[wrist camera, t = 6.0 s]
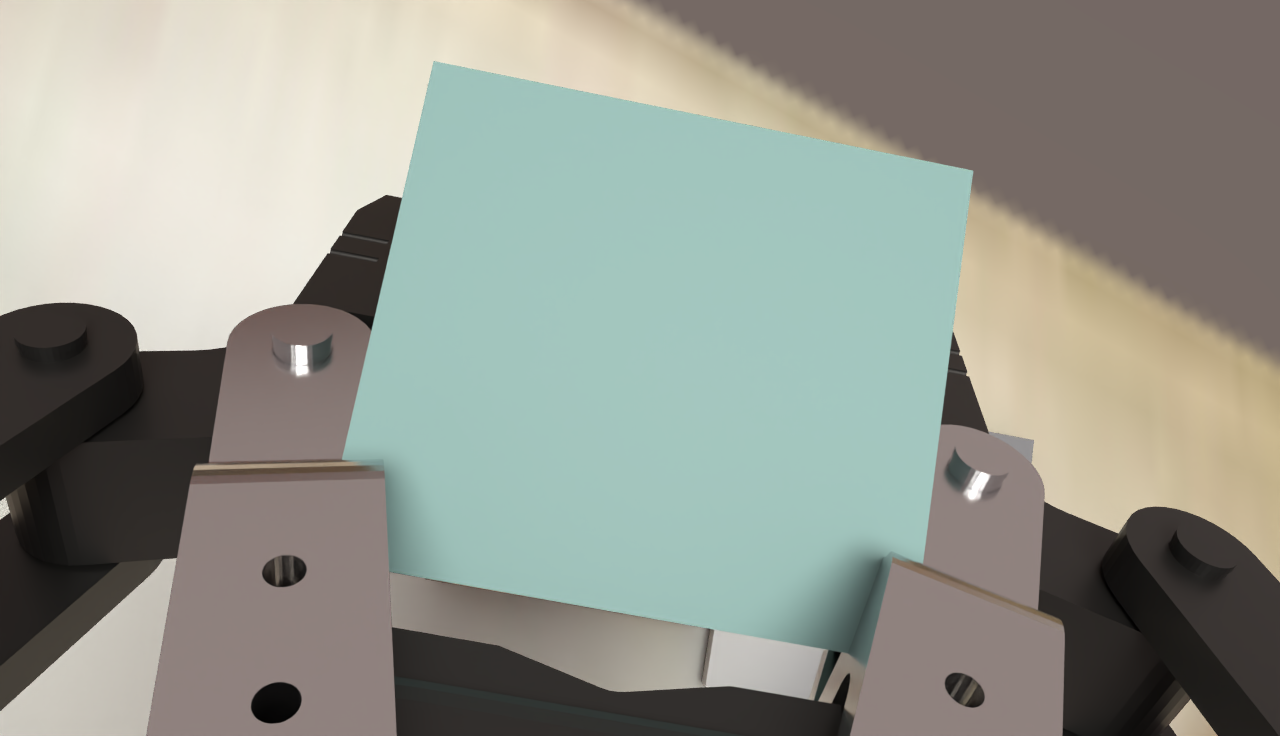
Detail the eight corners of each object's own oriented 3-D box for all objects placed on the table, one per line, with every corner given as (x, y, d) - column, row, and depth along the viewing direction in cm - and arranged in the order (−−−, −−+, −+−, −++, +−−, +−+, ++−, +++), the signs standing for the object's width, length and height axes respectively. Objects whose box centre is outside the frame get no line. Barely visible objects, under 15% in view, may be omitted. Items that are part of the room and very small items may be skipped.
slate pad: (701, 681, 29) (705, 686, 29) (748, 391, 31) (753, 388, 30) (990, 731, 30) (1001, 737, 29) (1022, 442, 31) (1033, 439, 30)
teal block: (454, 537, 16) (318, 559, 7) (503, 305, 17) (433, 61, 8) (721, 585, 16) (910, 664, 7) (758, 354, 17) (973, 171, 8)
